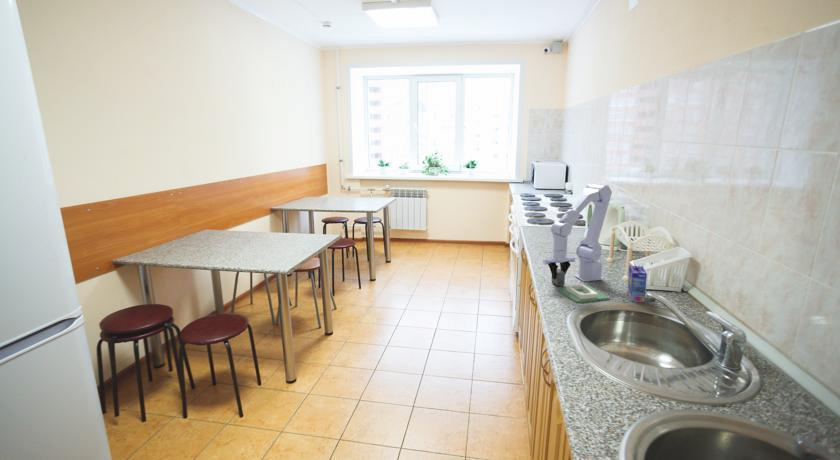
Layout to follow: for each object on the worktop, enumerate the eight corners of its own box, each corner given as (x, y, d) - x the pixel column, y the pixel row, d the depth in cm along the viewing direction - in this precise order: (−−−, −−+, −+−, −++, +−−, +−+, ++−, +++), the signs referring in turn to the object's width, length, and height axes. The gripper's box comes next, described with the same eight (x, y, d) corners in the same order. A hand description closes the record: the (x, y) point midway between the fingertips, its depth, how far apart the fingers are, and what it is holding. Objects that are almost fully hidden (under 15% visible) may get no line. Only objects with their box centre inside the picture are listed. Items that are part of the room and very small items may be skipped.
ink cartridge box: (626, 292, 171) (629, 259, 168) (640, 293, 169) (644, 260, 166) (629, 301, 162) (633, 267, 159) (645, 302, 160) (648, 268, 157)
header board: (587, 286, 178) (588, 281, 178) (609, 299, 164) (610, 293, 163) (556, 289, 176) (557, 283, 175) (576, 302, 161) (576, 296, 161)
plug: (558, 281, 184) (559, 269, 183) (565, 285, 179) (566, 273, 177) (551, 282, 184) (552, 269, 182) (558, 286, 178) (558, 273, 177)
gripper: (569, 245, 183) (568, 273, 186) (540, 247, 180) (539, 276, 183) (578, 249, 176) (576, 278, 179) (548, 252, 174) (546, 281, 177)
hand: (558, 278), depth 181 cm, fingers closed on plug, 3 cm apart
